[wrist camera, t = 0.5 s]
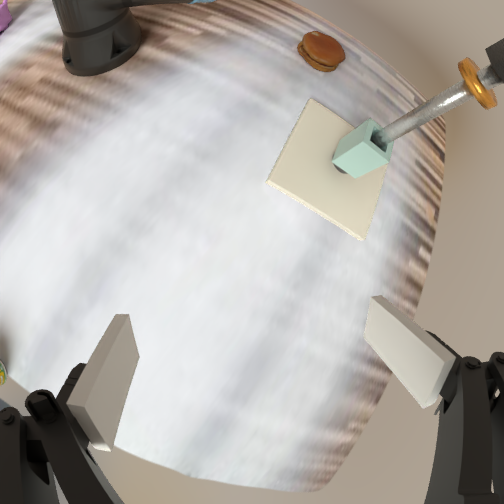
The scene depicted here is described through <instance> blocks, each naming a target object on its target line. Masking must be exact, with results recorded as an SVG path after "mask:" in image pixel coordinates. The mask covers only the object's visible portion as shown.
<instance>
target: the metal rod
mask: <svg viewBox="0 0 504 504" xmlns="http://www.w3.org/2000/svg"><path fill="white" fill-rule="evenodd" d="M485 50H486V52H487V55H488V57H489V60H490V62H491V64H490V65H488V66H486V67H485V68H483V69H481V70H480V68H479V67H478V66H477V65H476V64H475V63H474V62H473V61H472V60H471V59H470V58H465V59H464V60H462V61H460V62H459V63H458V68H459V71H460V73H461V75H462V77H463V80H462V81H460V82H458V83H457V84H455V85H453V86H451V87H450V88H448V89H446V90H445V91H443V92H441V93H440V94H438V95H436V96H435V97H433V98H431V99H430V100H428V101H426V102H425V103H423V104H421V105H420V106H418V107H416V108H415V109H413V110H412V111H410V112H408V113H407V114H405V115H403V116H402V117H400V118H399V119H397V120H395V121H394V122H392V123H391V124H389V125H388V126H386V127H384V128H383V129H381V130H380V131H378V132H377V133H375V134H373V135H372V136H371V138H370V141H371V142H372V143H374V144H375V145H376V146H377V147H379V148H381V147H383V146H385V145H387V144H388V143H390V142H392V141H394V140H396V139H397V138H399V137H401V136H403V135H405V134H406V133H408V132H410V131H412V130H414V129H416V128H417V127H419V126H421V125H423V124H425V123H427V122H429V121H430V120H432V119H434V118H436V117H438V116H440V115H442V114H443V113H445V112H447V111H449V110H451V109H453V108H455V107H457V106H459V105H461V104H462V103H464V102H466V101H468V100H470V99H472V98H474V97H475V98H476V99H477V101H478V102H479V103H480V104H481V105H482V106H483V107H484V108H485V109H487V110H488V109H490V108H493V107H495V106H497V99H496V96H495V93H494V91H493V89H492V88H494V87H496V86H498V85H500V84H502V83H504V38H503V39H502V40H500V41H498V42H497V43H495V44H493V45H491V46H490V47H488V48H486V49H485ZM334 154H335V152H334ZM334 154H333V156H332V159H333V157H334ZM333 164H334V163H333ZM334 166H335V168H336V169H337V170H338V171H339V172H341V173H343V174H348V173H347V172H345V171H344V170H342V169H341V168H340V167H338V166H337V165H335V164H334Z"/></svg>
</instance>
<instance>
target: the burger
mask: <svg viewBox="0 0 504 504" xmlns="http://www.w3.org/2000/svg"><path fill="white" fill-rule="evenodd" d="M297 49H298V52H299V54H300V55H301V56H303V57H304V59H305V61H306V62H308V63H309V64H310V65H311V66H312V67H313V68H315V69H317V70H320V71H324V72H331V71H334V70H335V69H336V68H337V66H338V64H339V63H341V62H342V61H344V60H345V53H344V50H343V48H342V46H341V45H340V44H339V43H338V42H337V41H336V40H335V39H334V38H332V37H331V36H328V35H325V34H323V33H320V32H318V31H312V32H309V33H307V34H305V35H304V37H303V40H302V41H301V42H300V43H299V44H298V47H297Z"/></svg>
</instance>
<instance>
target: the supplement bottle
mask: <svg viewBox="0 0 504 504" xmlns="http://www.w3.org/2000/svg"><path fill="white" fill-rule="evenodd" d="M6 379H7V373H6V369H5V367H4V365H3V363H2V362H1V360H0V386H1V385H3V384H4V383H5V382H6Z"/></svg>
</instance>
